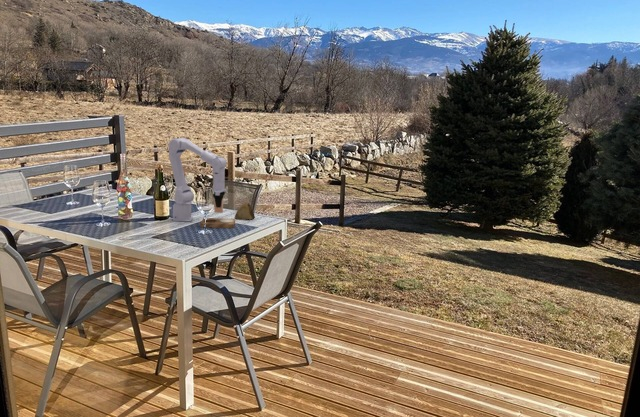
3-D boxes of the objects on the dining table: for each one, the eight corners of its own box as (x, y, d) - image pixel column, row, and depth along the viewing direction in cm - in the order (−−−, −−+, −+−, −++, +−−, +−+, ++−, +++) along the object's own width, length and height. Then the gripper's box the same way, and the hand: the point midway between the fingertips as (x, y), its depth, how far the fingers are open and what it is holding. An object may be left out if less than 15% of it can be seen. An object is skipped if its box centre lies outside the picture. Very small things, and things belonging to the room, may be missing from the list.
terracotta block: (214, 212, 248) (214, 199, 246) (215, 210, 252) (215, 197, 250) (222, 212, 248) (222, 199, 247) (223, 211, 252) (223, 198, 250)
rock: (229, 215, 264) (243, 215, 259) (234, 201, 267) (248, 202, 262) (240, 223, 272) (254, 224, 267) (245, 210, 275) (258, 211, 271)
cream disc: (219, 222, 248) (219, 221, 248) (220, 219, 255) (220, 218, 254) (232, 223, 248) (232, 222, 248) (233, 219, 255) (233, 218, 255)
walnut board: (200, 227, 245) (200, 223, 244) (203, 221, 256) (203, 218, 256) (233, 228, 247) (233, 224, 246) (235, 222, 258) (235, 218, 258)
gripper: (225, 183, 240) (225, 209, 243) (228, 178, 254) (228, 203, 257) (211, 183, 239) (211, 209, 242) (214, 178, 253) (214, 203, 256)
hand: (219, 206), depth 249 cm, fingers closed on terracotta block, 4 cm apart
